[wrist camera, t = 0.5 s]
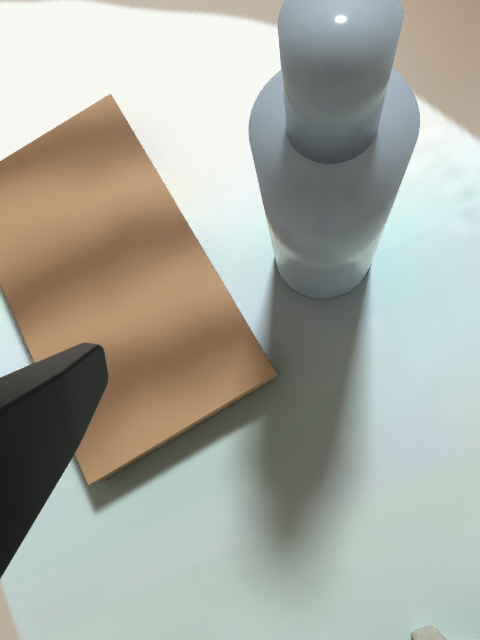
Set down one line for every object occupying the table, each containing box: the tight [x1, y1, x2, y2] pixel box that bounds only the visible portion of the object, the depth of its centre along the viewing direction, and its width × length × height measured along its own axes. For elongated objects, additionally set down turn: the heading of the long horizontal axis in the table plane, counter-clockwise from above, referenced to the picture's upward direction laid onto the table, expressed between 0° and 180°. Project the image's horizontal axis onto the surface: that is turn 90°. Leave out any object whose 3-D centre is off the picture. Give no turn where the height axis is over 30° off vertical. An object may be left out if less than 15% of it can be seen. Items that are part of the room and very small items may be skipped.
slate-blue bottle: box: [249, 0, 420, 299], centre depth 17 cm, size 5×5×14 cm
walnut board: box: [0, 94, 279, 485], centre depth 24 cm, size 18×10×2 cm, turn 30°
